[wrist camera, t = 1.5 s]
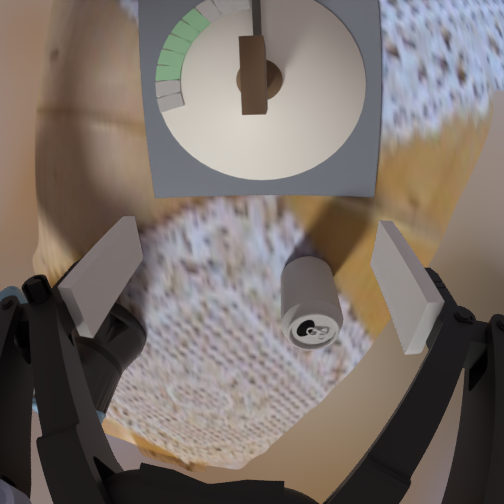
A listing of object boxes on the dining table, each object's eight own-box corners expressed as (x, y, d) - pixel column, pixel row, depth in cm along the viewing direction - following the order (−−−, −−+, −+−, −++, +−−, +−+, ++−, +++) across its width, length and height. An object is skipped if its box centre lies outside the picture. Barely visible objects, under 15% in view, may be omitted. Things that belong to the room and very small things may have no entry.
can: (294, 245, 41) (299, 302, 31) (340, 263, 42) (357, 321, 32) (272, 285, 45) (270, 346, 35) (316, 301, 46) (324, 360, 36)
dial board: (158, 194, 39) (153, 199, 37) (142, -6, 25) (137, -9, 23) (371, 194, 37) (375, 198, 35) (373, -14, 22) (377, -18, 21)
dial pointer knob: (238, 107, 31) (220, 116, 21) (232, -19, 23) (214, -60, 13) (283, 106, 31) (287, 114, 21) (277, -21, 22) (278, -64, 13)
